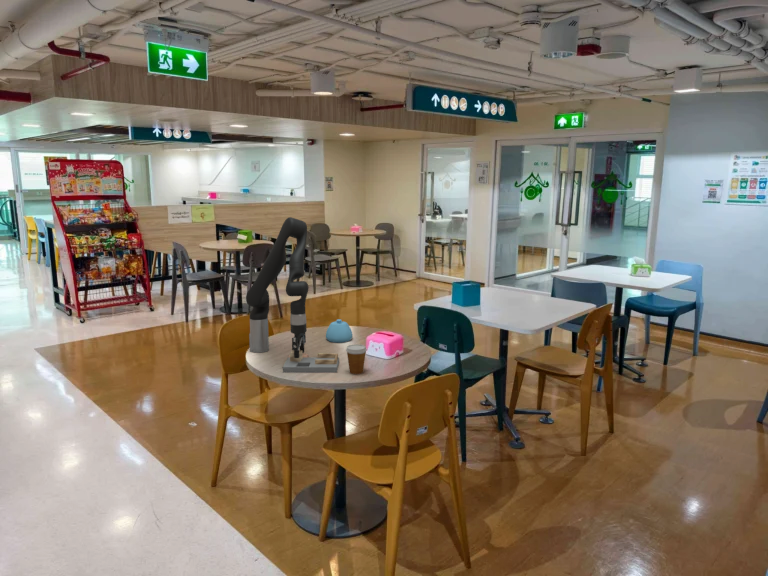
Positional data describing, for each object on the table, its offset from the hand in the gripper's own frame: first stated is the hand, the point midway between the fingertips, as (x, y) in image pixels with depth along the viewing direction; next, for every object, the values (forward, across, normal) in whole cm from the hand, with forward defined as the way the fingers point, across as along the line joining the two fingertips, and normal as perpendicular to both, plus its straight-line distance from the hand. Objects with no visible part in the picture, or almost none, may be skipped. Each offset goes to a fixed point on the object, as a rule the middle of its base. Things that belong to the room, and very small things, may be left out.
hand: (299, 355), depth 271 cm
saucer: (+4, +10, +4) cm, 11 cm away
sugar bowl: (+5, +46, -9) cm, 47 cm away
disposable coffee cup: (+5, -6, -29) cm, 30 cm away
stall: (+2, 0, -14) cm, 14 cm away
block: (+2, -1, +1) cm, 3 cm away
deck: (+5, -3, -7) cm, 9 cm away
